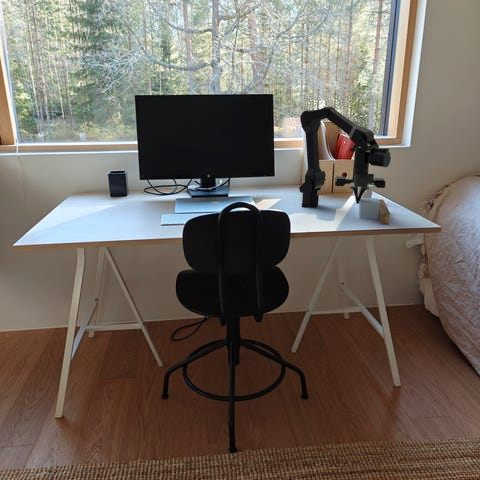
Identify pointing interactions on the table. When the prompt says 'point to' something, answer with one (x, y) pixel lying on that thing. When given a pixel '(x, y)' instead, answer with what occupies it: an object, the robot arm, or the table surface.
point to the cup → (367, 192)
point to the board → (383, 213)
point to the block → (369, 208)
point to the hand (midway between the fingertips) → (357, 203)
